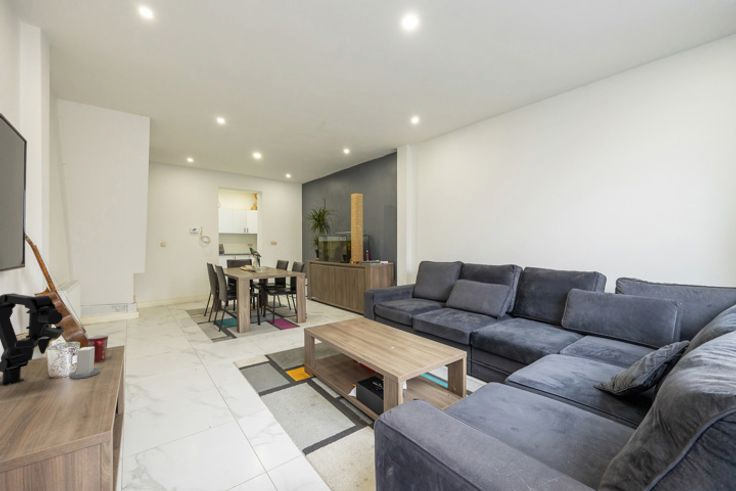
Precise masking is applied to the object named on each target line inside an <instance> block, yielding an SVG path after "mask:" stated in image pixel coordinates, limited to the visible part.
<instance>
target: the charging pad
mask: <svg viewBox="0 0 736 491" xmlns="http://www.w3.org/2000/svg"><path fill="white" fill-rule="evenodd" d="M99 374H100V369H99V368H97V367H94V370H93V371H92V372H90V373H89V374H81V375H76V371H74V372H71V373H70V374H69V379H70V380H81V379H88V378H92V377H95V376H96V375H99Z"/></svg>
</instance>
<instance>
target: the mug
mask: <svg viewBox="0 0 736 491" xmlns="http://www.w3.org/2000/svg"><path fill="white" fill-rule="evenodd" d="M108 338H109V334H96V335H92V336H88V337H87V341H88V342H87V347H95V352H94V363H97V362H102V361H105V360H106V358H107V350H108V340H109V339H108Z"/></svg>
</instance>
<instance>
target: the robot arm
mask: <svg viewBox="0 0 736 491" xmlns="http://www.w3.org/2000/svg"><path fill="white" fill-rule="evenodd" d="M17 305H18V306H19V305H20V306H24V308H25V309H28V310H27V311H26V312H25V314H29V315H28V318H29V319H28V326H26V328H25V329H26V330H28V334H27V335H25V338H22V339H18V337H17V334H16V332H15V329H14V326H13V323H12V320H11V317H12V315H13V313H14V308H15V307H16V306H17ZM63 317H64V316H63V314H62V313H61V312H60V311H59V309H57V307H56V304H55V303H54V302H53V300H52V297H51V298H50V296H49V295H37V296H32V295H24V294H19V293H13V292H11V293H3V294H1V295H0V343H1V346H2V349H3V351H2V354H1V356H0V373H2V377H1V378H2V380H0V385H3V386H7V385H11V384H14V383H15V384H16V383H19V382H23V381H25V379H24V378H22V377H21V376H22V368H23V367H27V366H28V364H29V362H30V361H31V360H33V357H34V356H33V355H34V352H35V348H37V347H38V350H39V352H40V354H41V355H43V354H45V353H46V351H47V348H48V346H49V343H50V342H51V341H52V340H53V339H54V340H56V339H58V338H60V337H61V336H62V334H63V333H65V331H64V326H63V325H58V324H60V323H61V322H62V321H63ZM51 325H52V326H53V325H58V326H56V327H51Z"/></svg>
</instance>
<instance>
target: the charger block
mask: <svg viewBox="0 0 736 491" xmlns="http://www.w3.org/2000/svg"><path fill="white" fill-rule="evenodd" d="M76 351H77V353H76V369H75V372H76V375H81V374H89V373H90V372H92V371H93V370H94V368H95V362H94V352H95V347H88V346H87V347H86V346H85V347H80V348H79V349H78V350H76Z"/></svg>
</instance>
